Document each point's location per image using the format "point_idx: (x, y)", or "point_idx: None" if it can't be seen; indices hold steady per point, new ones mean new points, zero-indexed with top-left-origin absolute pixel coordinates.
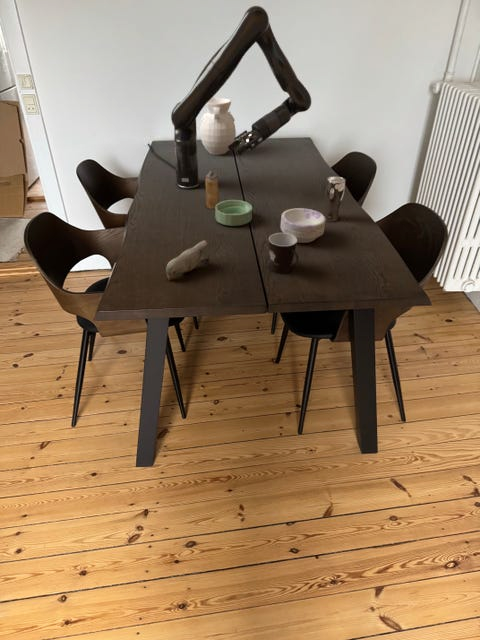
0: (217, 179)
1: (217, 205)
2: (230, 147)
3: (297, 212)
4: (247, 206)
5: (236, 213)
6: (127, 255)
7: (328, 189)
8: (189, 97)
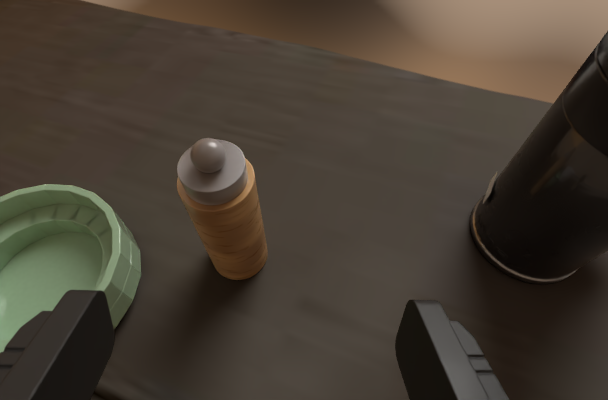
0: (193, 205)
1: (96, 204)
2: (410, 334)
3: None
4: None
5: None
6: (87, 6)
7: None
8: None
